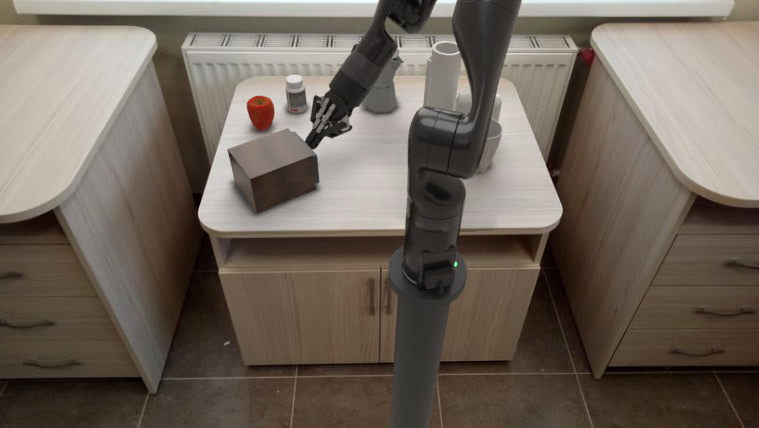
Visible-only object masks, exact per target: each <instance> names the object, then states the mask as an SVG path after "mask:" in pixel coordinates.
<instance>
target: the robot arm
mask: <svg viewBox="0 0 759 428" xmlns="http://www.w3.org/2000/svg"><path fill="white" fill-rule="evenodd" d="M437 1H438V0H378V2H377V5H376V8H375V11H374V14H373V17H372V19H371V22H370V24H369V26H368V27H367V30H366V31H365V33H364V34H363V36H362V37H361V39H360V40H359V42H358V43H357V44H358V45H357V46H356V49H354V50H353V52H352V53H351V52H350V54H348V56H347V57H346V58H345V60H344V61H343V63H342V65H341V66H340V68H339V69H338V70H337V71H336V73H335V75H334V76H333V78H332V79H331V81H330V82H329V83H328V87H329V90H328V91H326V92H325V93H324V95H323V96H319V95H318V94H315V95H313V98H312V105H311V112H310V116H309V117H310V118H309V122H311V124H312V129H311V130H310V132H309V133H308V134H307V136H306V138H305V140H304V142H305V143H306V144H307V145H308V146H309V147H310V148H311V149H312V150H313V151H314V150H316V149H317V148H318V147H319V146H320V144H321V142H322V141H323V139H324V138H329V139H331V140H332V139H335V138H336V137H339V136H342V135H344V134H346V133H348V132H351V131H352V130H353V125H351V124H350V118H351V116H352V115H353V111H354V109H355V108H359V107H360V106H361V105H362V103H364V99H365V97H366V96H367V95H368V93H369V92H370V90H371V89H372V87H373V86H374V85H375V83H376V82H377V80H378V78H379V77H380V75H381V73H382V71H383V69H384V68H385V67H386V65H387V64H388V62H389V61H390V59H391V58H392V57H393V55H394V54H395V52H396V50H397V49H398V47H399V45H398V42H397V41H396V40H395V39H394V37H393V36H392V35H391V33H389V31H388V30H387V28H386V22H387V19H388V20H390V21H391V22H392V23H394V25H396V26H397V27H398V28H400V29H401V30H402V31H403V32H405V33H407V34H409V35H414V34H418V33H420V32H421V31H423V30H424V28H425V27H426V25H427V24H428V22H429V20H430V18H431V15H432V13H433V10H434V8H435V6H436V3H437ZM522 2H523V0H456V2H455V5H454V9H453V13H452V19H451V27H452V28H451V29H452V33H453V37H454V40H455V43H456V44H457V47H458V49H459V52H460V55H461V57H462V59H461V61H462V62H463V66H464V68H465V72H466V77H467V81H468V84H469V90H471V99H472V104H471V110H470V112H469V113H468V114H466V113H461V112H456V111H451V110H446V109H442V108H437V107H432V106H424V107H423V106H421V107H420V108H418V110H417V111H416V112H415V113H414V115H413V117H412V119H411V122H410V125H409V130H408V137H407V152H406V153H407V154H406V155H407V159H406V160H407V163H406V164H407V165H406V166H407V167H406V169H407V177H406V178H407V179H406V192H407V193H406V208H405V223H404V237H403V245H404V249H403V261H402V272H403V275H404V277H405V278H406V279H407V280H408V281H409V282H410V283H411V284H413V285H415V286H416V287H417V289H418V291H424V290H429V289H436V288H439V292H437V295H438V296H440V295H442V294H443V291H444V287H445V286H450V285H453V283H454V277H455V271H454V268H455V266H456V257H457V252H458V244H459V239H460V232H461V228H462V221H463V216H464V209H465V205H466V204H465V203H466V199H467V189H466V186H465V183H464V182H463V180H470V179H472V178H473V177H475V175H476V174H477V170H478V168H479V166H480V163H481V160H482V157H483V153H484V149H485V145H486V140H487V136H488V131H489V126H490V121H491V117H492V112H493V107H494V102H495V97H496V93H498V88H499V83H500V78H501V75H502V71H503V68H504V65H505V61H506V58H507V53H508V50H509V47H510V44H511V41H512V37H513V35H514V30H515V28H516V25H517V21H518V17H519V14H520V10H521V6H522Z"/></svg>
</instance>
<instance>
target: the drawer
mask: <svg viewBox="0 0 759 428" xmlns="http://www.w3.org/2000/svg"><path fill="white" fill-rule="evenodd" d="M291 132H292V133H293V134H294V135H295V136H296V137H297V138H298V139H299V140H300V142H301V143H302V144H303V145H304V146H305V147H306V148H307V149H308V150H309V151H310V152H311V153H312V155H313V159H314V170H315V181H316V185H317V184H319V183H320V172H319V161H318V160H319V159H318V154H317V153H316V152H315V151H314V150H312V149H311V148H310V147H309V146H308V145H307V144H306V143H305V140H304V139H303V138H302V137H301V136H300V135H299V134H298V133H297V132H296V131H291Z"/></svg>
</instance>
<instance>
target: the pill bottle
mask: <svg viewBox="0 0 759 428" xmlns="http://www.w3.org/2000/svg"><path fill="white" fill-rule="evenodd" d="M285 84H286V85H285V95H286V104H287V109H288V111H289V112H291V113H292V114H300V113H304V112H305V111H306V110H307V109H308V103H307V94H306V85H305V83H304V81H303V77H302V75H299V74H290V75H287V77H285Z"/></svg>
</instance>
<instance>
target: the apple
mask: <svg viewBox="0 0 759 428" xmlns="http://www.w3.org/2000/svg"><path fill="white" fill-rule="evenodd" d="M246 111H247V114H248V118H249V119H250V122H251V124H252V125H253V127H254V128H255V129H257V130H258V131H266V130H268V129H270V128H271V127H272V124H273V121H274V118H275V115H276V114H275V113H276V111H275V105H274V102H273V100H272V99H271V98H270V97H268V96H264V95H255V96H252V97H250V98H249V99H248V100H247V102H246Z"/></svg>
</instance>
